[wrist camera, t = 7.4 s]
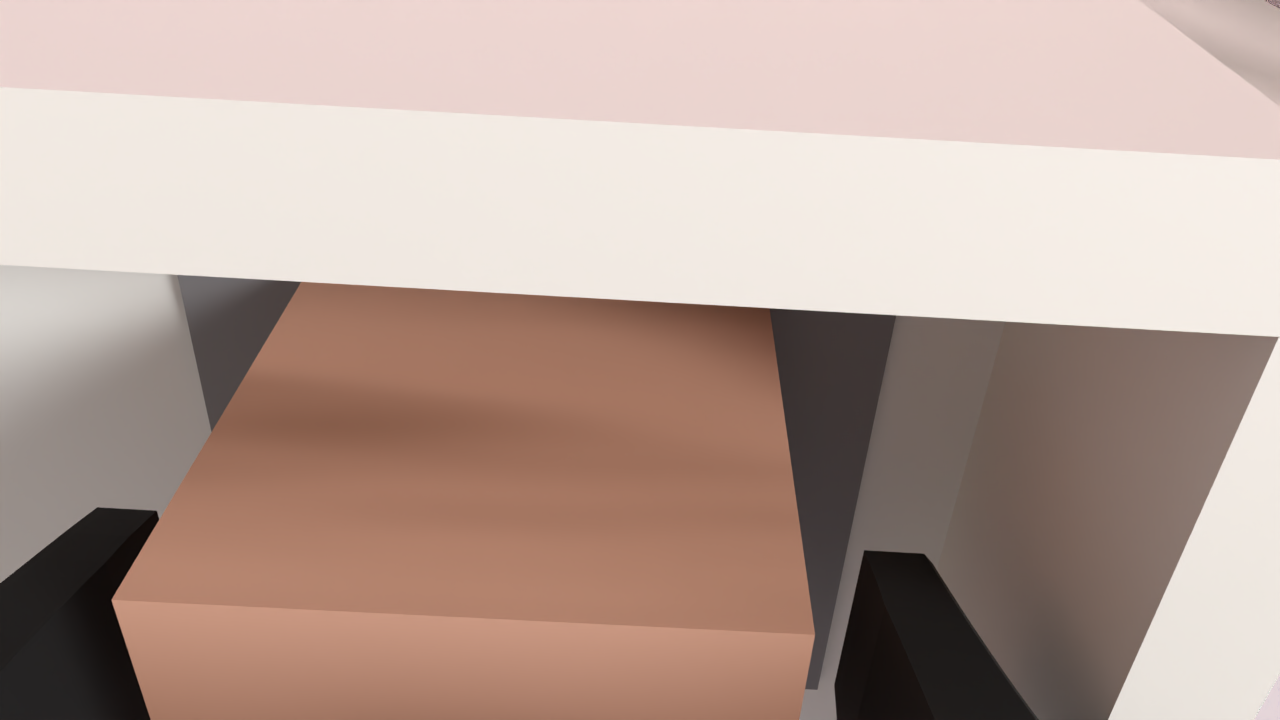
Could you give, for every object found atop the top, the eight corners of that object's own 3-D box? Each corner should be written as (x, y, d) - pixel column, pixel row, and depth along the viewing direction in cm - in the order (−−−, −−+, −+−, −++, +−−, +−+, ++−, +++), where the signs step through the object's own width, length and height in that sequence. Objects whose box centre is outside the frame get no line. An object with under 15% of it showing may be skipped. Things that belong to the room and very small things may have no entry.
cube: (727, 607, 15) (748, 992, 10) (359, 589, 15) (231, 966, 10) (766, 286, 12) (814, 635, 8) (312, 263, 12) (111, 599, 8)
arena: (945, 720, 18) (1040, 1099, 13) (-36, 665, 17) (-288, 1026, 13) (1187, -45, 11) (1560, 175, 6) (-391, -136, 11) (-1172, 20, 6)
